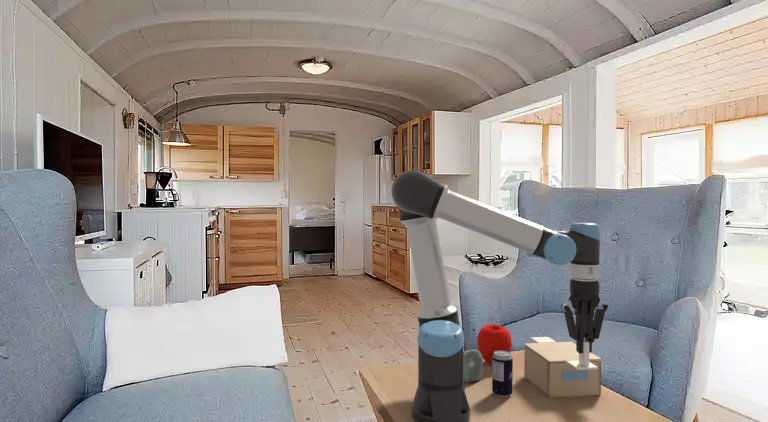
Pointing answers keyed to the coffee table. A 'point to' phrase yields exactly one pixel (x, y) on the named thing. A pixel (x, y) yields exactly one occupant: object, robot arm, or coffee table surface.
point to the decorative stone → (472, 366)
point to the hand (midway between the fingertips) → (583, 364)
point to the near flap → (568, 358)
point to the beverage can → (502, 373)
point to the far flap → (549, 345)
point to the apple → (493, 341)
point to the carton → (561, 377)
